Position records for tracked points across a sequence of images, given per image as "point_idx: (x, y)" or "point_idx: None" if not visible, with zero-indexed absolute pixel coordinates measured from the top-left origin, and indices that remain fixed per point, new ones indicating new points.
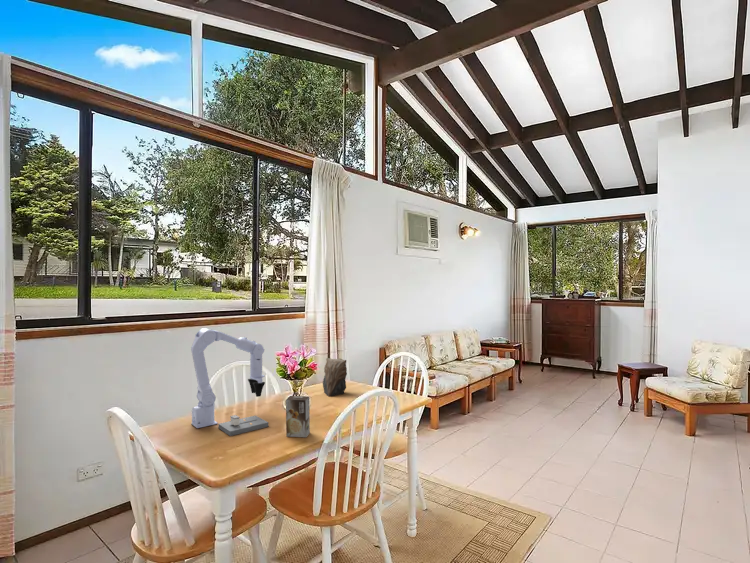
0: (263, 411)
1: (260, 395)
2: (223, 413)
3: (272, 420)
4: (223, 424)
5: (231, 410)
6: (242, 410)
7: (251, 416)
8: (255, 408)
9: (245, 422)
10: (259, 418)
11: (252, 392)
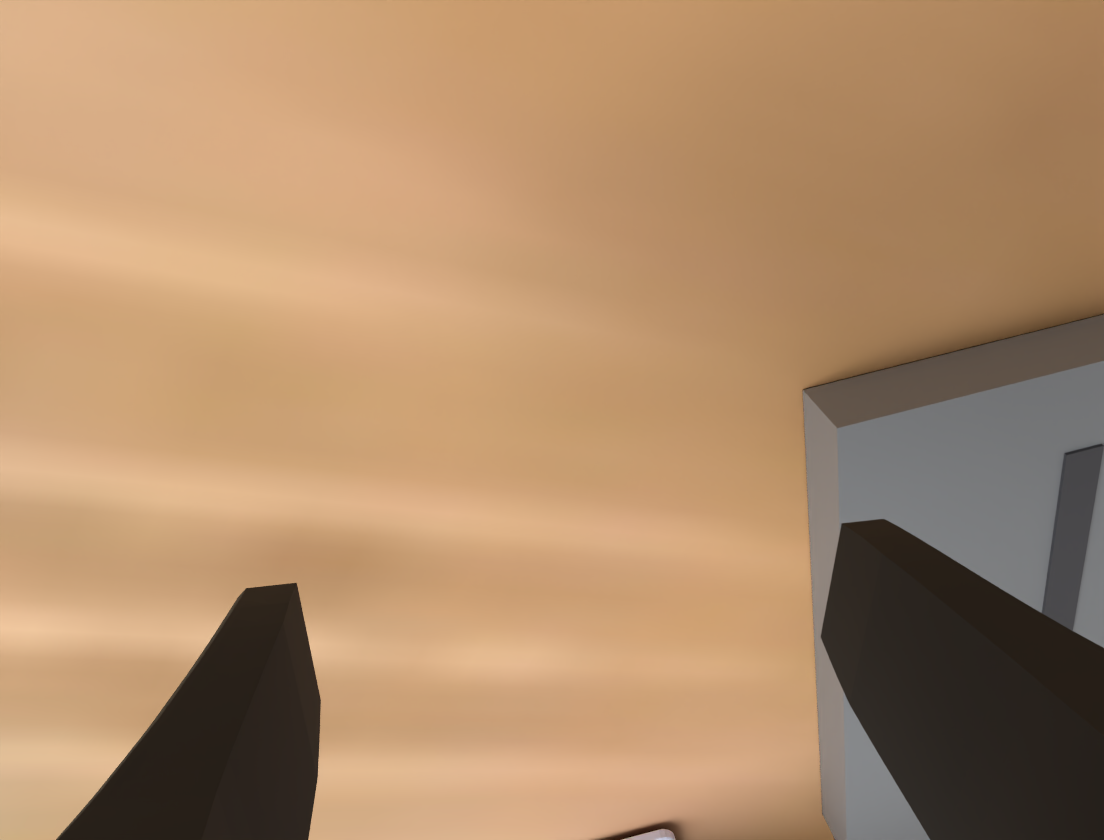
0: (351, 124)
1: (907, 539)
2: None
3: (1061, 112)
4: (917, 822)
5: (32, 674)
6: (96, 514)
7: (849, 499)
8: (8, 246)
9: (1068, 610)
10: (1052, 397)
11: (315, 713)
